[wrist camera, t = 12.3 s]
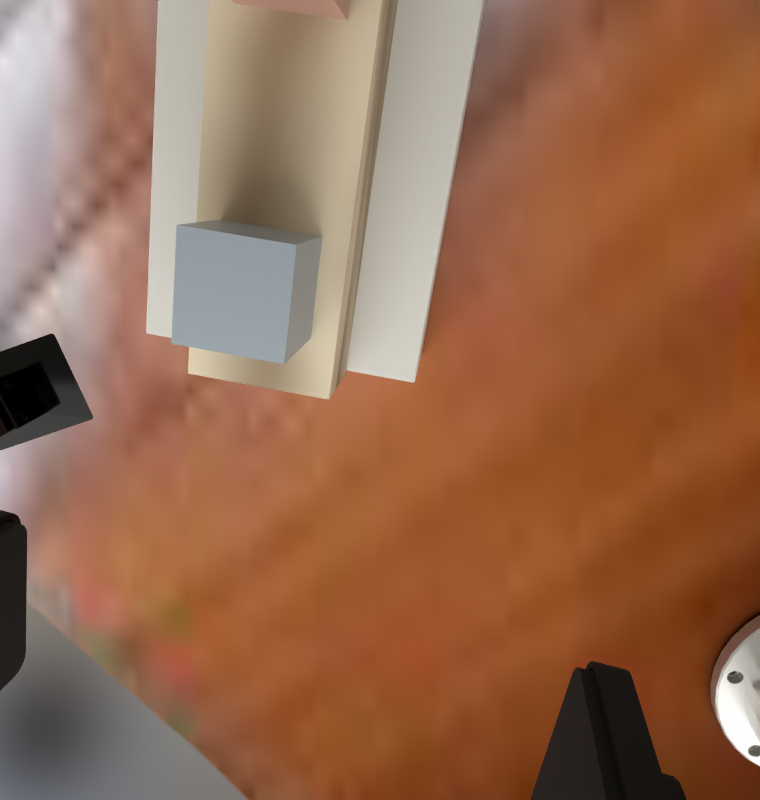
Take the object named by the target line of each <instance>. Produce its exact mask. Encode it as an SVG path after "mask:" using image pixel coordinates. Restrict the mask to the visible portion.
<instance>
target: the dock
mask: <svg viewBox="0 0 760 800" xmlns="http://www.w3.org/2000/svg"><path fill="white" fill-rule="evenodd" d="M485 1H486V0H398V4H397V11H396V18H395V25H394V32H393V39H392V46H391V54H390V61H389V68H388V75H387V82H386V89H385V96H384V104H383V111H382V118H381V125H380V132H379V139H378V146H377V154H376V161H375V168H374V175H373V182H372V189H371V197H370V204H369V211H368V218H367V225H366V232H365V239H364V247H363V254H362V261H361V268H360V275H359V282H358V289H357V297H356V304H355V311H354V318H353V325H352V332H351V339H350V347H349V354H348V361H347V368H346V370H348V371H353V372H359V373H364V374H370V375H375V376H380V377H386V378H391V379H397V380H402V381H408V382H413V383H414V382H415V378H416V374H417V370H418V366H419V362H420V358H421V354H422V348H423V343H424V337H425V332H426V326H427V321H428V315H429V310H430V304H431V299H432V293H433V288H434V282H435V277H436V271H437V265H438V260H439V254H440V249H441V243H442V238H443V232H444V227H445V221H446V216H447V210H448V205H449V199H450V194H451V188H452V183H453V177H454V172H455V166H456V161H457V155H458V150H459V144H460V139H461V133H462V128H463V122H464V117H465V111H466V106H467V100H468V95H469V89H470V84H471V78H472V73H473V67H474V61H475V56H476V50H477V45H478V39H479V34H480V28H481V23H482V17H483V12H484V6H485ZM208 8H209V0H158V20H157V48H156V76H155V104H154V132H153V159H152V187H151V215H150V243H149V271H148V298H147V326H146V333H148V334H153V335H159V336H164V337H170V338H172V317H173V294H174V272H175V249H176V227H177V225H179V224H187V223H196V222H197V204H198V186H199V169H200V151H201V133H202V115H203V97H204V79H205V61H206V44H207V26H208Z"/></svg>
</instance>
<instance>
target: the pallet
mask: <svg viewBox="0 0 760 800" xmlns="http://www.w3.org/2000/svg"><path fill="white" fill-rule="evenodd" d="M397 4H398V0H350V5H349V13H348V21H347V20H341V19H334V18H328V17H321V16H315V15H308V14H302V13H295V12H289V11H282V10H275V9H269V8H262V7H256V6H249V5H243V4H236V3H234V2H232V1H231V0H209V8H208V26H207V44H206V61H205V79H204V97H203V115H202V133H201V151H200V169H199V186H198V204H197V222H204V221H212V220H220V219H221V220H227V221H233V222H239V223H245V224H251V225H257V226H263V227H269V228H275V229H281V230H287V231H293V232H299V233H305V234H311V235H317V236H323V238H322V246H321V255H320V263H319V272H318V280H317V289H316V297H315V306H314V314H313V323H312V332H311V339H310V340H309V341H308V342H307V343H306V344H304V345H303V346H302V347H301V348H300V349H299V350H298V351H297V352H296V353H295V354H294V355H293V356H292V357H291V358H290V359H289V360H288V361H287V362H286V363H285V364H281V363H275V362H270V361H264V360H259V359H253V358H248V357H242V356H237V355H231V354H225V353H220V352H214V351H209V350H203V349H198V348H192V347H189V365H188V373H189V374H194V375H199V376H205V377H210V378H215V379H221V380H226V381H232V382H237V383H242V384H248V385H253V386H259V387H264V388H269V389H275V390H280V391H285V392H291V393H296V394H302V395H307V396H312V397H318V398H323V399H330V397H331V395H332V394H333V392H334V391H335V389H336V388H337V386H338V385H339V383H340V381H341V380H342V378H343V377H344V375H345V374H346V368H347V361H348V354H349V347H350V339H351V332H352V325H353V318H354V311H355V304H356V297H357V289H358V282H359V275H360V268H361V261H362V254H363V247H364V239H365V232H366V225H367V218H368V211H369V204H370V197H371V189H372V182H373V175H374V168H375V161H376V154H377V146H378V139H379V132H380V125H381V118H382V111H383V104H384V96H385V89H386V82H387V75H388V68H389V61H390V54H391V46H392V39H393V32H394V25H395V18H396V11H397Z"/></svg>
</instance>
